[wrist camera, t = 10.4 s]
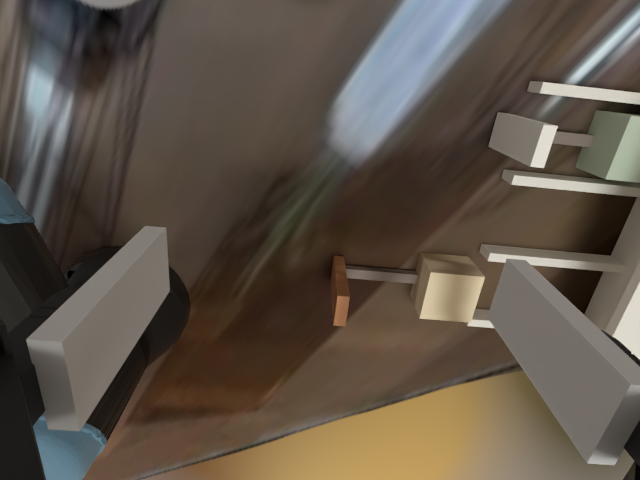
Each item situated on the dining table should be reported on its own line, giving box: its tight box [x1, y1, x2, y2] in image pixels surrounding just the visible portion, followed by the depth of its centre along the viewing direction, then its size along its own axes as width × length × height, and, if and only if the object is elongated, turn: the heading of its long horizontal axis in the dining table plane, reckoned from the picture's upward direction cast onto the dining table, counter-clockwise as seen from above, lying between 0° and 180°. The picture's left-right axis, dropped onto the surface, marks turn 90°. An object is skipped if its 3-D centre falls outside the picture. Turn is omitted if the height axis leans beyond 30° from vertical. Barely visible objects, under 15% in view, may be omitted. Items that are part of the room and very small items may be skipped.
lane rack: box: [465, 81, 640, 359], centre depth 40 cm, size 17×28×11 cm, turn 174°
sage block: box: [488, 110, 640, 183], centre depth 38 cm, size 16×6×9 cm, turn 84°
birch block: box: [331, 252, 485, 326], centre depth 44 cm, size 16×6×9 cm, turn 84°
